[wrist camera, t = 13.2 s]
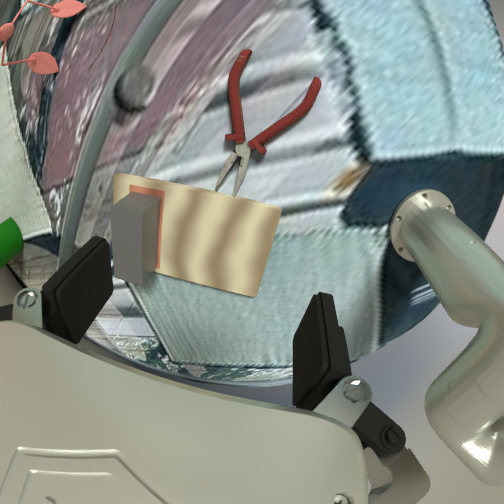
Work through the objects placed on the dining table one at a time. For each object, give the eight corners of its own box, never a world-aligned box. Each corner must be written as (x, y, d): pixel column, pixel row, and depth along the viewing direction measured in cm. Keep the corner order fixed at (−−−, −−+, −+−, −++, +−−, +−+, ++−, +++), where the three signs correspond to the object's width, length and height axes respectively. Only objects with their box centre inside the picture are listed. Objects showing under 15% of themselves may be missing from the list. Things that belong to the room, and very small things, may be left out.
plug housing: (132, 191, 38) (110, 206, 33) (161, 197, 38) (142, 213, 33) (131, 256, 44) (114, 277, 39) (157, 263, 44) (142, 286, 39)
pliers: (190, 176, 38) (184, 181, 36) (243, 48, 28) (240, 44, 26) (262, 206, 40) (261, 213, 38) (323, 81, 30) (326, 80, 28)
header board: (281, 207, 39) (281, 221, 35) (256, 291, 47) (253, 311, 43) (118, 172, 38) (101, 182, 34) (119, 256, 47) (106, 271, 42)
